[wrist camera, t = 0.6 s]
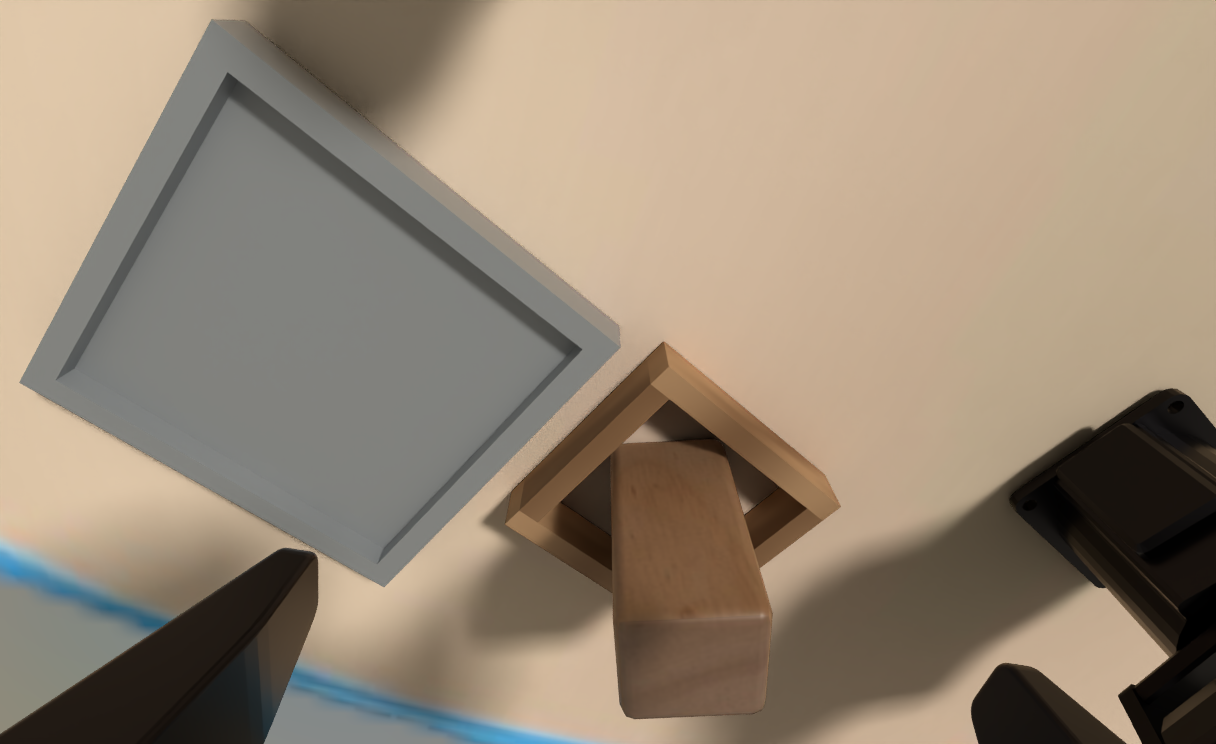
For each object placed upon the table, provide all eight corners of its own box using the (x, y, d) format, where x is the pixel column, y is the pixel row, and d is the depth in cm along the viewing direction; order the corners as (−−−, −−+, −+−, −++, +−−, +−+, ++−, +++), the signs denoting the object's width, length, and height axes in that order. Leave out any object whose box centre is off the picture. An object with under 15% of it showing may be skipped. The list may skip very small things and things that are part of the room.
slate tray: (619, 325, 21) (620, 347, 19) (396, 556, 25) (384, 587, 24) (244, 20, 17) (211, 19, 15) (58, 359, 21) (19, 382, 20)
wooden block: (609, 439, 23) (612, 622, 16) (722, 433, 23) (777, 614, 16) (615, 527, 25) (620, 726, 18) (720, 522, 25) (768, 719, 18)
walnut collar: (824, 474, 24) (840, 506, 22) (669, 596, 26) (674, 632, 25) (664, 341, 21) (668, 366, 19) (511, 491, 24) (505, 524, 22)
